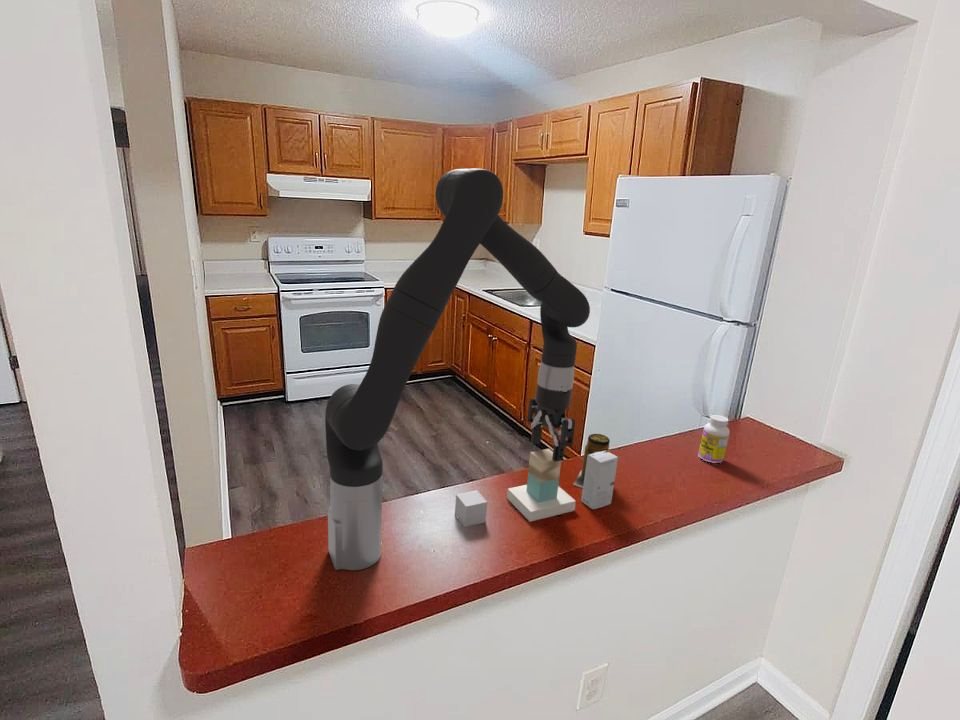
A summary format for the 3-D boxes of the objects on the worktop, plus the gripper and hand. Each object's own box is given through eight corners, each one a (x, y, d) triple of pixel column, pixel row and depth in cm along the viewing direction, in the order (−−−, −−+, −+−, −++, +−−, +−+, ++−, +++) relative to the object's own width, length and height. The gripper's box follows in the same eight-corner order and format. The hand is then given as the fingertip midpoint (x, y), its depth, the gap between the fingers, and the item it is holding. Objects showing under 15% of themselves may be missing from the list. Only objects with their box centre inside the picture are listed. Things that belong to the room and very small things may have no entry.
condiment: (608, 478, 135) (615, 435, 131) (602, 493, 127) (609, 449, 124) (580, 471, 138) (586, 429, 134) (572, 485, 130) (579, 441, 127)
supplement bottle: (692, 454, 151) (701, 413, 148) (711, 453, 153) (720, 412, 150) (708, 466, 145) (718, 423, 142) (728, 464, 147) (737, 421, 144)
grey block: (464, 527, 111) (465, 506, 109) (454, 514, 115) (456, 494, 113) (485, 522, 113) (487, 501, 111) (475, 509, 117) (476, 490, 116)
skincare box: (593, 510, 120) (600, 463, 116) (579, 501, 124) (586, 454, 120) (612, 503, 123) (619, 457, 120) (598, 494, 127) (605, 449, 123)
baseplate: (529, 521, 114) (530, 511, 113) (506, 498, 122) (507, 488, 122) (574, 510, 120) (575, 500, 119) (549, 488, 128) (550, 479, 127)
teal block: (538, 502, 117) (540, 482, 116) (526, 491, 121) (528, 471, 120) (556, 498, 119) (559, 478, 118) (544, 487, 123) (546, 468, 122)
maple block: (540, 482, 116) (542, 462, 114) (528, 471, 120) (530, 452, 118) (559, 478, 118) (561, 458, 116) (546, 468, 122) (548, 448, 121)
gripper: (522, 373, 117) (515, 440, 121) (560, 396, 105) (550, 469, 109) (550, 371, 120) (542, 436, 125) (590, 393, 108) (579, 464, 113)
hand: (546, 451), depth 117 cm, fingers open, 8 cm apart
